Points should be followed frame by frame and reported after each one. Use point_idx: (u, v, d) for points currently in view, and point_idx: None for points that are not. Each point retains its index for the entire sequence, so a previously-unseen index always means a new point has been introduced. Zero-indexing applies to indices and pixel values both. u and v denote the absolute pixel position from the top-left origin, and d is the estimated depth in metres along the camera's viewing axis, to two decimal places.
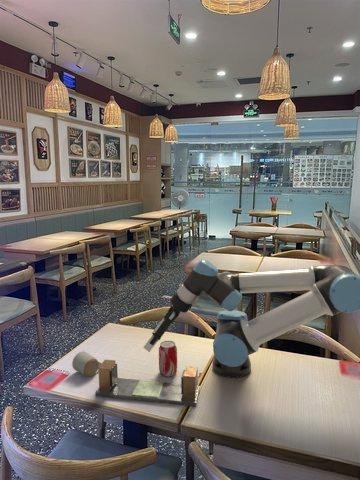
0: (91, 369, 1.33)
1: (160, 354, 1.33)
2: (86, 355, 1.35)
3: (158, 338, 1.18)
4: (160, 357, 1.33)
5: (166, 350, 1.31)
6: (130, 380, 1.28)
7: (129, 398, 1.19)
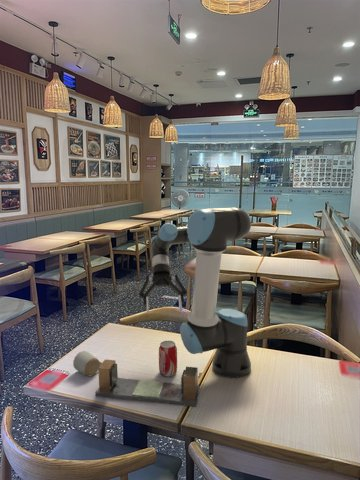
0: (92, 368, 1.34)
1: (160, 354, 1.33)
2: (87, 355, 1.36)
3: (139, 294, 1.46)
4: (160, 357, 1.33)
5: (166, 350, 1.31)
6: (130, 380, 1.28)
7: (129, 398, 1.19)
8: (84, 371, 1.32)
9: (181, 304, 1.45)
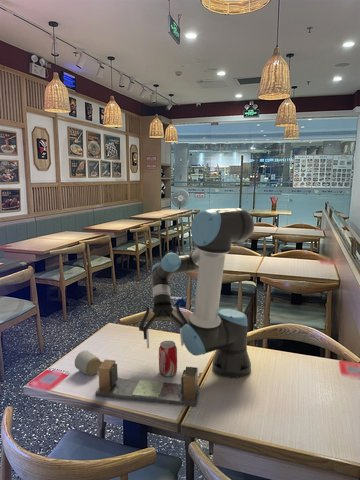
0: (93, 368, 1.34)
1: (160, 354, 1.33)
2: (88, 354, 1.36)
3: (139, 327, 1.41)
4: (160, 357, 1.33)
5: (166, 350, 1.31)
6: (130, 380, 1.28)
7: (129, 398, 1.19)
8: (85, 370, 1.32)
9: None
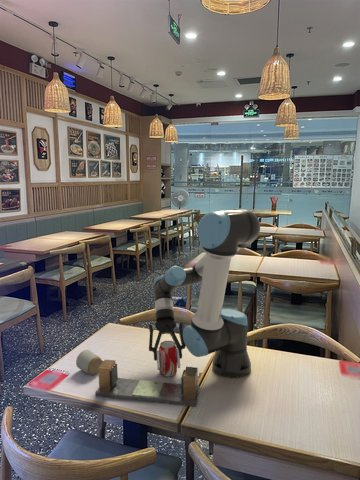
0: (95, 367, 1.35)
1: (160, 354, 1.33)
2: (90, 353, 1.37)
3: None
4: (160, 357, 1.33)
5: (166, 350, 1.31)
6: (130, 380, 1.28)
7: (129, 398, 1.19)
8: (87, 370, 1.33)
9: (179, 360, 1.33)
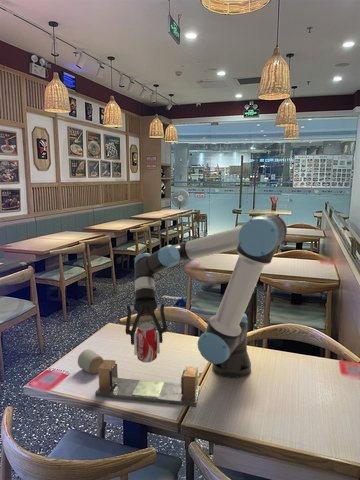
0: (96, 366, 1.35)
1: (137, 337, 1.18)
2: (91, 353, 1.37)
3: (125, 330, 1.21)
4: (137, 341, 1.19)
5: (144, 332, 1.17)
6: (130, 380, 1.28)
7: (129, 398, 1.19)
8: (88, 369, 1.33)
9: (159, 344, 1.18)
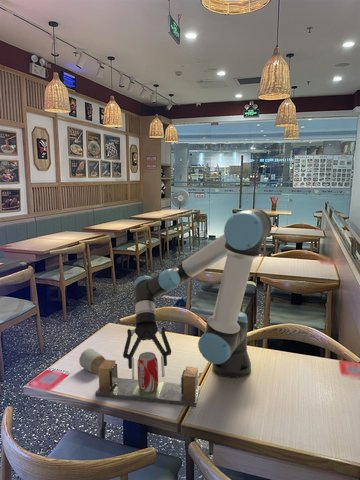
0: (98, 365, 1.36)
1: (139, 367, 1.20)
2: (93, 352, 1.38)
3: (123, 354, 1.22)
4: (139, 371, 1.20)
5: (145, 362, 1.18)
6: (130, 380, 1.28)
7: (129, 398, 1.19)
8: (90, 368, 1.34)
9: None
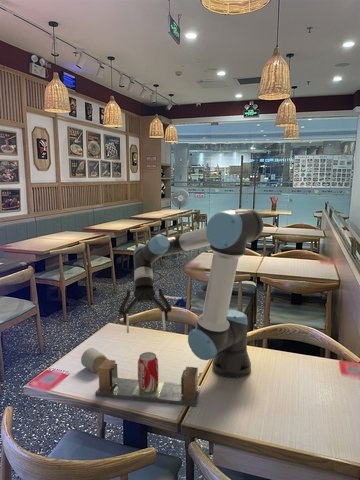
0: None
1: (139, 367, 1.19)
2: (94, 351, 1.38)
3: None
4: (139, 371, 1.20)
5: (146, 363, 1.18)
6: (130, 380, 1.28)
7: (129, 398, 1.19)
8: (92, 367, 1.34)
9: None
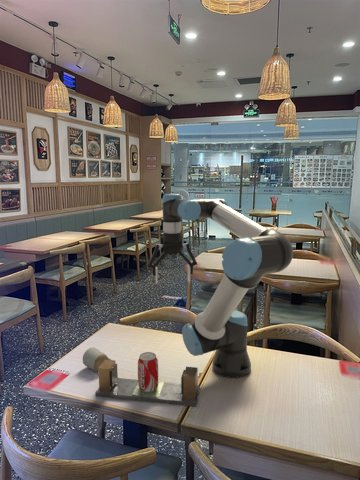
0: None
1: (139, 367, 1.20)
2: (96, 351, 1.39)
3: (148, 265, 1.43)
4: (139, 371, 1.20)
5: (146, 362, 1.18)
6: (130, 380, 1.28)
7: (129, 398, 1.19)
8: (93, 367, 1.35)
9: None
